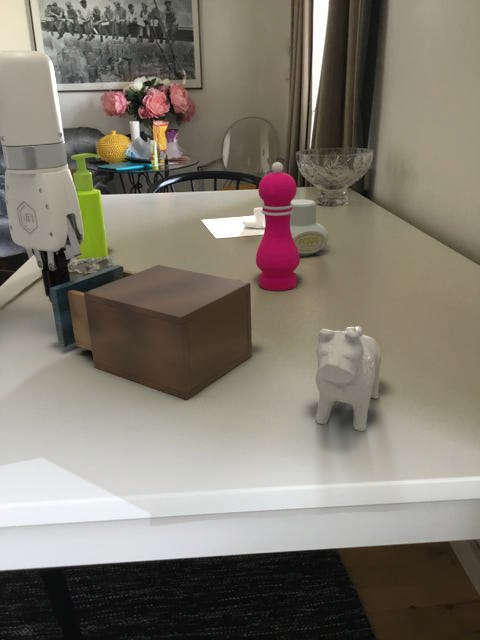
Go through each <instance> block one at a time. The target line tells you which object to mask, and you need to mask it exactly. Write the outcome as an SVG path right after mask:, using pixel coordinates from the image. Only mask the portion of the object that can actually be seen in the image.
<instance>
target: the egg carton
mask: <svg viewBox="0 0 480 640" xmlns="http://www.w3.org/2000/svg"><path fill="white" fill-rule="evenodd" d="M114 261H115V256H114V254H111V255H108V257H103V258H100V257H98V258H97V259H94V258H93V257H91V258H89V259H76V258H73V259H71V260H70V266H68V270H69V277H70V281H72V280H75V279H78V278H81V277H84V276H86V275H89V274H92V273H95V272H98V271H101V270H104V269H107V268H110V267H112V266H115V263H114Z"/></svg>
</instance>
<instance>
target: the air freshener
mask: <svg viewBox="0 0 480 640" xmlns="http://www.w3.org/2000/svg"><path fill="white" fill-rule="evenodd" d="M291 203H292V204H293V207H292V208H293V213H291V215H290V230H291V234H292V237H293V240H294V242H295V244H296V246H297V248H298V252H299V257H310V256H312V255H314V254H316V253H319V252H320V251H322V250H323V249H324V248H325V247H326V246H327V244H328V241H329V234H328V231H327V230H326V228H325V227H324V226H323V225H322V224H320V223H318V222H317V203H316V201H314V200H311V199H302V198H301V199H292V201H291Z"/></svg>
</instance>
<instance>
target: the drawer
mask: <svg viewBox="0 0 480 640" xmlns="http://www.w3.org/2000/svg"><path fill="white" fill-rule="evenodd" d="M138 272H139V271H138ZM138 272H137V271H132V270H127V269H126V270H124V265H121V264H114V266H112V267H110V268H107V269H104V270H101V271H98V272H95V273H92V274H89V275H86V276H84V277H81V278H78V279H75V280H72V281H69V282H66V283H63V284H60V285H58V286H55V287H52V288H50V294H49V297H48V301H49V302H50V303H51V306H52V312H53V319H54V324H55V330H56V336H57V343H58V346H59V347H63V348H67V347H68V346H71V345H74V344H75V346H76V347H78V348H82V349H85V350H86V351H87V350H88V351H91V352H92V347H91V340H90V333H89V326H88V319H87V312H86V304H85V297H84V293H85V292H87V291H90V290H93V289H95V288H98V287H101V286H103V285H106V284H109V283H111V282H114V281H117V280H119V279H122V278H125V277H127V276H130V275H133V274H135V273H138Z"/></svg>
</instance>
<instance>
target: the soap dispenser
mask: <svg viewBox="0 0 480 640" xmlns="http://www.w3.org/2000/svg"><path fill="white" fill-rule="evenodd" d="M101 156H102V155H101V154H97V153H86V152H85V153H78V154H73V155H70V159H71V160H74V161H75V165H76V171H75V172H73V174H72V178H73V182H74V186H75V190H76V194H77V198H78V202H79V207H80V212H81V217H82V223H83V233H84V239H83V242H82V243H81V244H79V246H80V249H81V253H82V255H81V256H80V257H77V260H79V259H89V258H91V257H93V258H94V259H97V258H98V257H100V258H103V257H109V250H108V242H107V234H106V226H105V225H106V224H105V218H104V210H103V209H104V208H103V202H102V201H103V200H102V193H101V190H100V189H97V188H94V183H93V182H94V181H93V175H92V174H93V173H92V172H90V171H89V170H87V163H86V159H89V158H99V159H100V158H101Z"/></svg>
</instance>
